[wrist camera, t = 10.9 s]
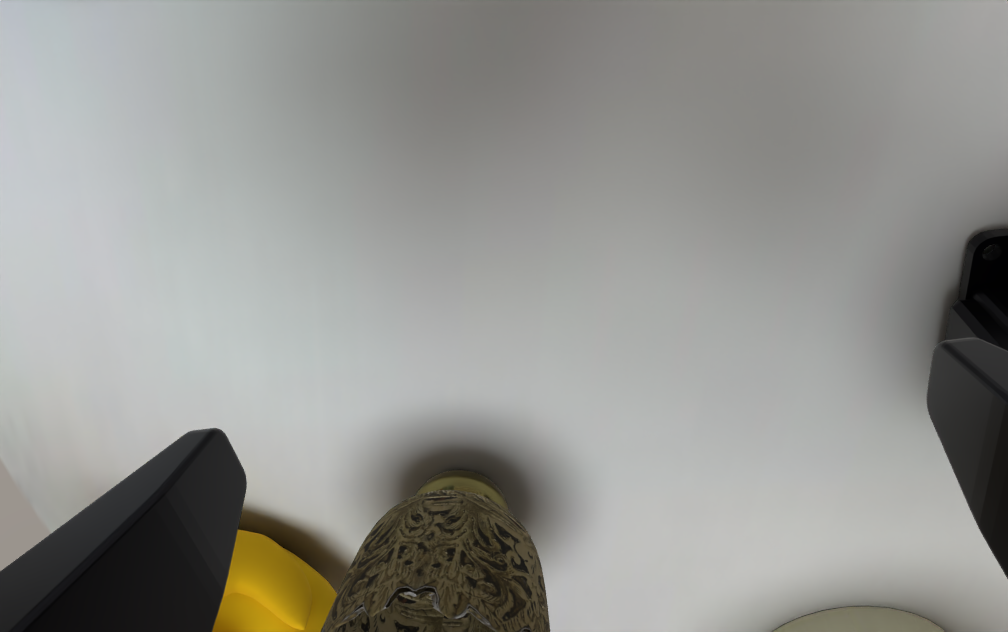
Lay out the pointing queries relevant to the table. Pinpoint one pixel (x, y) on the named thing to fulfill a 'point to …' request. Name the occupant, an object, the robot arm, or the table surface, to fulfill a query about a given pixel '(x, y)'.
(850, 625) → the reusable coffee cup
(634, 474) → the table surface
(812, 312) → the table surface
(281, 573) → the duckling
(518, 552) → the cup
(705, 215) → the table surface
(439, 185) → the table surface
